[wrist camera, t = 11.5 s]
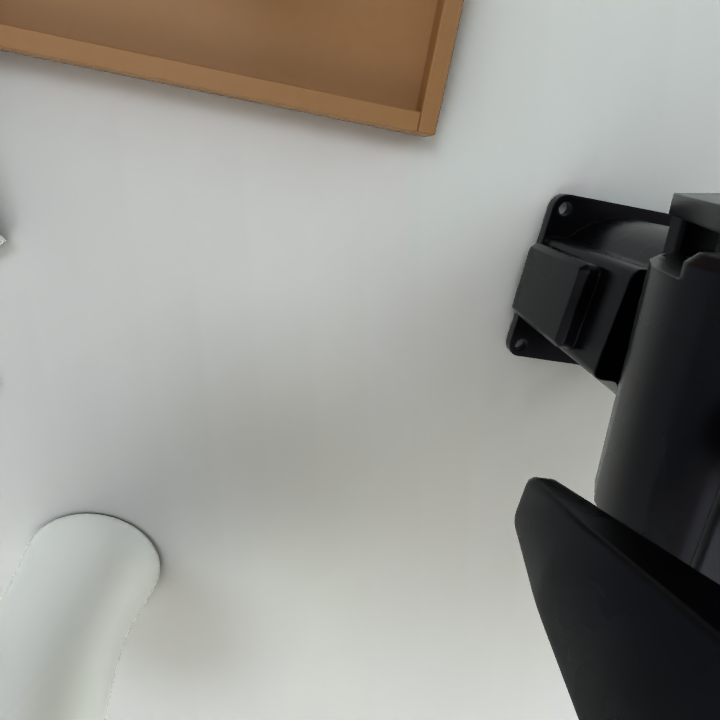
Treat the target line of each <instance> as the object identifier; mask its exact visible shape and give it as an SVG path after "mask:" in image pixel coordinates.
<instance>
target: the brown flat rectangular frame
mask: <svg viewBox="0 0 720 720" xmlns="http://www.w3.org/2000/svg"><path fill="white" fill-rule="evenodd" d="M463 2H464V0H0V50H2V51H7V52H12V53H17V54H22V55H27V56H32V57H36V58H41V59H46V60H51V61H56V62H61V63H66V64H71V65H75V66H80V67H85V68H90V69H95V70H100V71H105V72H110V73H115V74H119V75H124V76H129V77H134V78H139V79H144V80H149V81H154V82H159V83H163V84H168V85H173V86H178V87H183V88H188V89H193V90H198V91H203V92H207V93H212V94H217V95H222V96H227V97H232V98H237V99H242V100H247V101H251V102H256V103H261V104H266V105H271V106H276V107H281V108H286V109H290V110H295V111H300V112H305V113H310V114H315V115H320V116H325V117H330V118H334V119H339V120H344V121H349V122H354V123H359V124H364V125H369V126H374V127H378V128H383V129H388V130H393V131H398V132H403V133H408V134H413V135H418V136H422V137H426V136H432V135H434V134H435V131H436V127H437V122H438V117H439V113H440V108H441V104H442V99H443V94H444V90H445V85H446V80H447V76H448V71H449V67H450V62H451V57H452V53H453V48H454V44H455V39H456V34H457V30H458V25H459V20H460V16H461V11H462V7H463Z"/></svg>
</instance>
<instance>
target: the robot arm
mask: <svg viewBox="0 0 720 720" xmlns="http://www.w3.org/2000/svg"><path fill="white" fill-rule="evenodd" d="M563 202H566V203H567V210H566V211H565V212H564V213H563V214H560V213H559V207H560V205H561V204H562V203H563ZM513 309H514V311H515V314H514V317H513V321H512V324H511V327H510V330H509V333H508V337H507V340H506V345H507V348H508V349H509V350H510V351H511V352H512V353H513V354H514V355H517V356H523V357H530V358H537V359H544V360H551V361H558V362H565V363H572V364H579V365H581V366H582V367H583V368H584V369H586V370H587V371H588V372H589V373H591V374H592V375H593V376H594V377H595V378H597V379H598V380H599V381H600V382H601V383H603V384H604V385H605V386H606V387H608V388H609V389H610V390H611V391H612V392H614V393H615V394H616V397H615V402H614V406H613V410H612V414H611V418H610V422H609V426H608V430H607V434H606V438H605V442H604V446H603V450H602V455H601V459H600V463H599V467H598V471H597V475H596V479H595V496H594V501H595V503H596V505H597V506H595V505H593V504H592V503H590V502H589V501H587V500H586V499H584V498H582V497H581V496H579V495H578V494H576V493H575V492H573V491H571V490H570V489H568V488H567V487H565V486H563V485H562V484H560V483H559V482H557V481H555V480H553V479H547V478H538V477H533V478H531V479H529V481H528V482H527V484H526V486H525V489H524V492H523V494H522V497H521V500H520V502H519V505H518V508H517V510H516V514H515V527H516V532H517V535H518V539H519V543H520V547H521V550H522V554H523V558H524V562H525V566H526V569H527V573H528V577H529V581H530V585H531V588H532V592H533V596H534V599H535V602H536V606H537V609H538V611H539V614H540V617H541V620H542V623H543V625H544V628H545V631H546V633H547V636H548V639H549V641H550V644H551V647H552V649H553V652H554V655H555V657H556V660H557V663H558V665H559V668H560V671H561V673H562V676H563V679H564V681H565V684H566V687H567V689H568V692H569V695H570V697H571V700H572V703H573V705H574V708H575V711H576V713H577V716H578V719H579V720H720V194H713V193H674V195H673V199H672V203H671V207H670V211H669V214H666V213H661V212H656V211H650V210H645V209H640V208H635V207H630V206H625V205H620V204H615V203H610V202H605V201H599V200H594V199H589V198H584V197H579V196H574V195H569V194H559V195H557V196H555V197H554V198H553V199H552V200H551V201H550V203H549V205H548V208H547V212H546V215H545V218H544V221H543V224H542V228H541V231H540V234H539V237H538V240H537V243H536V244H535V245H533V246H532V247H531V248H530V250H529V253H528V257H527V260H526V263H525V266H524V270H523V273H522V276H521V279H520V283H519V286H518V289H517V292H516V296H515V299H514V302H513ZM519 339H524V341H523V344H522V345H521V346H519V347H515V344H516V342H517V341H518V340H519Z"/></svg>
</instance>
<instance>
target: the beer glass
mask: <svg viewBox="0 0 720 720" xmlns="http://www.w3.org/2000/svg"><path fill="white" fill-rule="evenodd" d="M159 575H160V560H159V556H158V553H157V551H156V549H155V547H154V546H153V544H152V543H151V541H150V540H149V539H148V538H147V537H146V536H145V535H144V534H143V533H142V532H141V531H139V530H138V529H136V528H135V527H133V526H132V525H130V524H128V523H126V522H124V521H122V520H119V519H116V518H113V517H110V516H105V515H99V514H74V515H68V516H64V517H61V518H58V519H55V520H53V521H51V522H50V523H48V524H46V525H45V526H44V527H42V528H41V529H40V530H39V531H38V532H37V533H36V534H35V535H34V536H33V538H32V539H31V541H30V542H29V544H28V546H27V548H26V550H25V552H24V554H23V556H22V558H21V560H20V563H19V565H18V567H17V569H16V572H15V574H14V576H13V578H12V580H11V582H10V584H9V586H8V588H7V589H6V591H5V592H4V594H3V595H2V597H1V598H0V720H106V717H107V712H108V707H109V702H110V697H111V692H112V687H113V682H114V678H115V674H116V669H117V665H118V660H119V657H120V654H121V651H122V648H123V645H124V642H125V640H126V637H127V635H128V633H129V631H130V628H131V626H132V625H133V623H134V621H135V619H136V617H137V616H138V614H139V613H140V611H141V609H142V608H143V606H144V605H145V603H146V602H147V600H148V598H149V597H150V595H151V593H152V592H153V590H154V588H155V586H156V584H157V582H158V579H159Z"/></svg>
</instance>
